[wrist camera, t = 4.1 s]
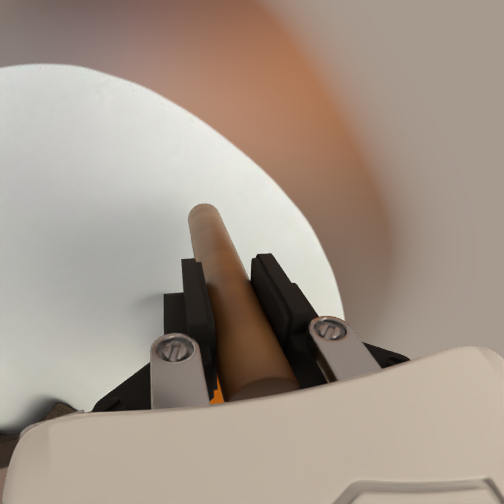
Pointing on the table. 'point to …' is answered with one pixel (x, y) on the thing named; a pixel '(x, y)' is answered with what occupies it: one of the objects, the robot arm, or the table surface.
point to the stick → (237, 316)
